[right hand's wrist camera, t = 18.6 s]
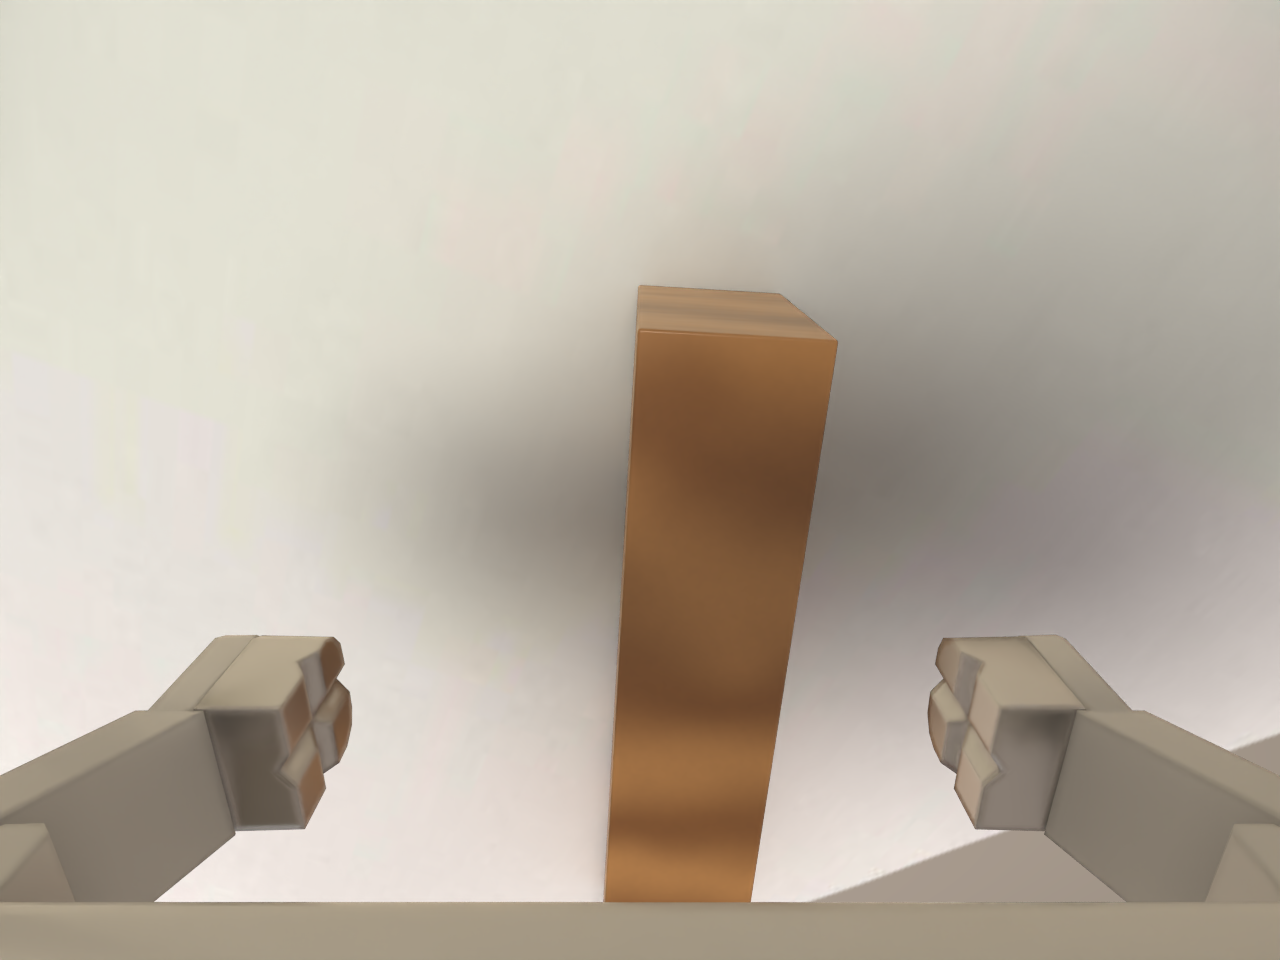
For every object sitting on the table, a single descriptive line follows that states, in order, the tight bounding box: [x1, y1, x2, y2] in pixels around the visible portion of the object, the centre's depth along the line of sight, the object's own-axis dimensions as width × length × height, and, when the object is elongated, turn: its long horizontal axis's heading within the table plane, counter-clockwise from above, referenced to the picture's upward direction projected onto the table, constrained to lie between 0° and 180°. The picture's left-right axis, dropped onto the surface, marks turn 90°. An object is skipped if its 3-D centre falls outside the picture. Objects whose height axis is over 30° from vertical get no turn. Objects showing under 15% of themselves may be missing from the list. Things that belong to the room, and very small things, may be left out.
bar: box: [603, 285, 838, 902], centre depth 26 cm, size 27×5×8 cm, turn 177°
